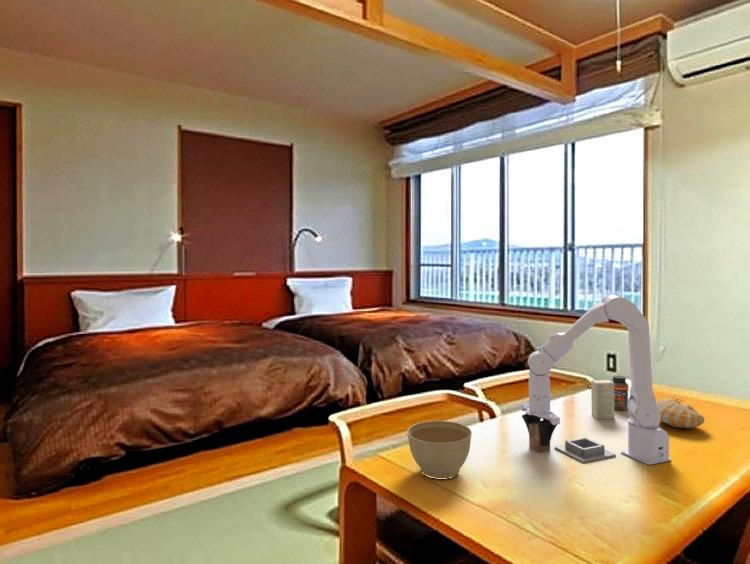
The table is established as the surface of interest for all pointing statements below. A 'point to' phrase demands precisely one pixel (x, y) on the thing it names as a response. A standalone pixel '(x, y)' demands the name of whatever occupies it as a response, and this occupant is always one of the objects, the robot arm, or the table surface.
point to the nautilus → (679, 414)
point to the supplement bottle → (620, 393)
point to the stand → (585, 450)
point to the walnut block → (536, 439)
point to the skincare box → (602, 399)
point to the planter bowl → (439, 447)
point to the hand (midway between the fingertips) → (539, 442)
